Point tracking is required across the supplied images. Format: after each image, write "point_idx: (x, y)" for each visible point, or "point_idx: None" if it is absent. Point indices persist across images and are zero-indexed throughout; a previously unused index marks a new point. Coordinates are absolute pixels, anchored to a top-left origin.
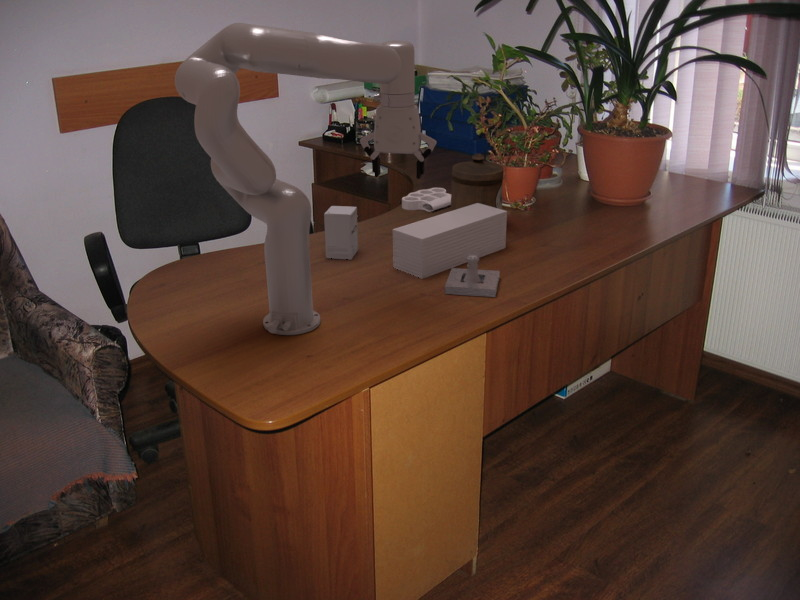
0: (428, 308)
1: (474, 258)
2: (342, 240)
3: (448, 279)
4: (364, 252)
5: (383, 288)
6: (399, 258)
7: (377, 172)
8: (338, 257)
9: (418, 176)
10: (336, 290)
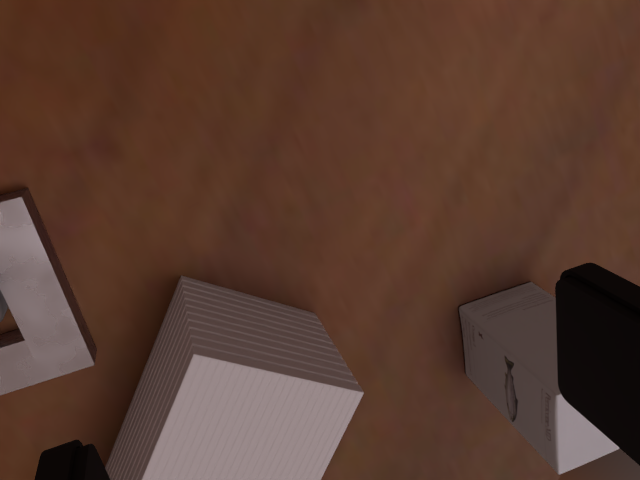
0: (12, 27)
1: None
2: (520, 327)
3: (46, 264)
4: (443, 373)
5: (270, 141)
6: (297, 325)
7: (596, 296)
8: (498, 294)
9: (52, 462)
10: (412, 57)
